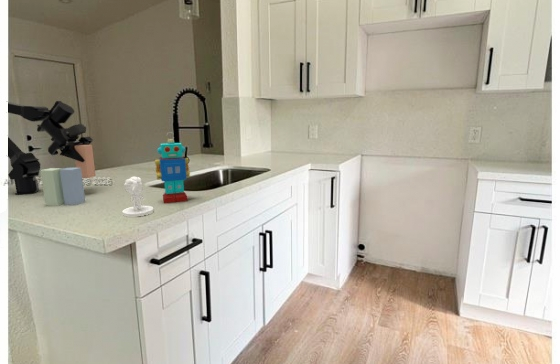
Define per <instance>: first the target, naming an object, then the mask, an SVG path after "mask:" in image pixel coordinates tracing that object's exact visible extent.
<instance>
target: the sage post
mask: <svg viewBox="0 0 560 364" xmlns="http://www.w3.org/2000/svg"><path fill="white" fill-rule="evenodd" d="M61 169H63V168H61V167H60V168H58V167H57V168H56V167H50V168H45V169H40V170H39V173H40V179H41V185H42V191H43V196H44V197H43V198H44V203H45V204H44V205H45V206H54V207H55V206H56V207H58V206H60V205H63V204H64V205H65V202H64V195H63V188H62V182H61V175H60V170H61Z"/></svg>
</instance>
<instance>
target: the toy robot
mask: <svg viewBox="0 0 560 364" xmlns="http://www.w3.org/2000/svg"><path fill="white" fill-rule="evenodd" d="M169 133H171V134H173V132H172V131H169V132H167V134H166V135H168V134H169ZM156 152H157V153H158V154H160V155H161V156H160V157H159V158H158V159H155V161H154V164H155V173H156V180H157V181H158V180H161V182H163V183H164V193H163V194H162V200H163V203H164V204H169V203H170V204H171V203H181V202H188V195H187V193H186V192H185V188H184V187H185V185H184V181H185V180H187V178H190V176H191V172H190V170H189V169H190V167H189V162H190V161H189V157H184V156H183V153H185V152H186V147H185V146H183V145H182V143H181V142H175V140H174V138H168V139H167V142H166V143H160V147H158V148H157V151H156Z"/></svg>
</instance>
